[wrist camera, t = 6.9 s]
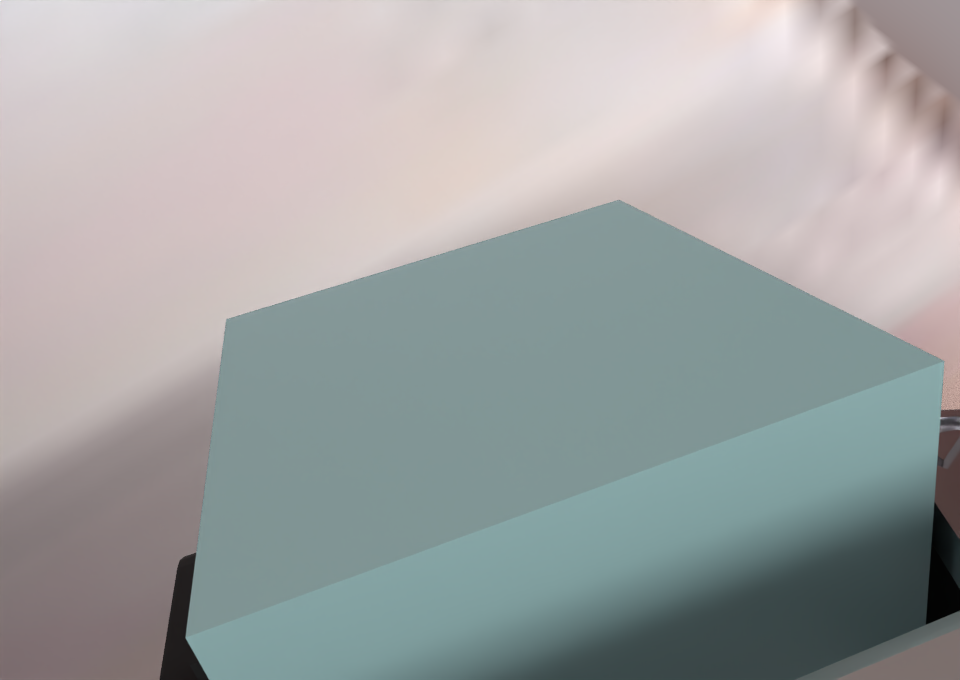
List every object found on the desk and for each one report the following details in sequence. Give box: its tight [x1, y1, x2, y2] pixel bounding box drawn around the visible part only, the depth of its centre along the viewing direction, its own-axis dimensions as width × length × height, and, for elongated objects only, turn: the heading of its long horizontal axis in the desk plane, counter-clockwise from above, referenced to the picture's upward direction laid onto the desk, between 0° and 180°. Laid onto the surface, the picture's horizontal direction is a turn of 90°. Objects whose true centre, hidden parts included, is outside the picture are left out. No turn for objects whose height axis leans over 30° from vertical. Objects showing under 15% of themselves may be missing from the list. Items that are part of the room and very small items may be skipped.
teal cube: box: [185, 200, 944, 680], centre depth 9 cm, size 6×6×6 cm
